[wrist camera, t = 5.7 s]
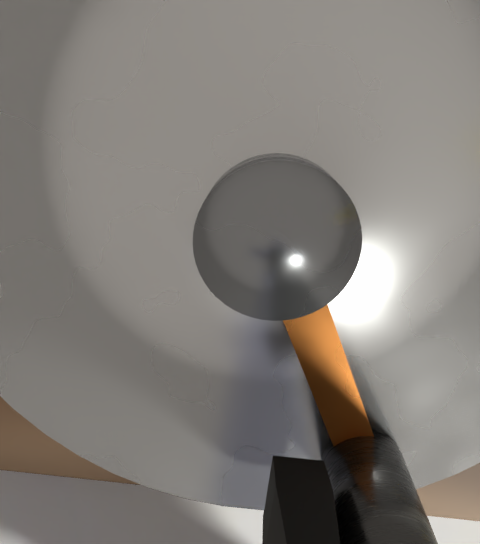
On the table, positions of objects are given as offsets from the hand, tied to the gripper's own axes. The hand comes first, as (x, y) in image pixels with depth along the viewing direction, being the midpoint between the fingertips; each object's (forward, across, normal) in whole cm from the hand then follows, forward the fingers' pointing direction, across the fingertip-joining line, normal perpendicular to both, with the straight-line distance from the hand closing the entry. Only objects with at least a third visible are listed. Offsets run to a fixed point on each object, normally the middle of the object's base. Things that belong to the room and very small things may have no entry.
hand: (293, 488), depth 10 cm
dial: (+3, +1, -6) cm, 7 cm away
